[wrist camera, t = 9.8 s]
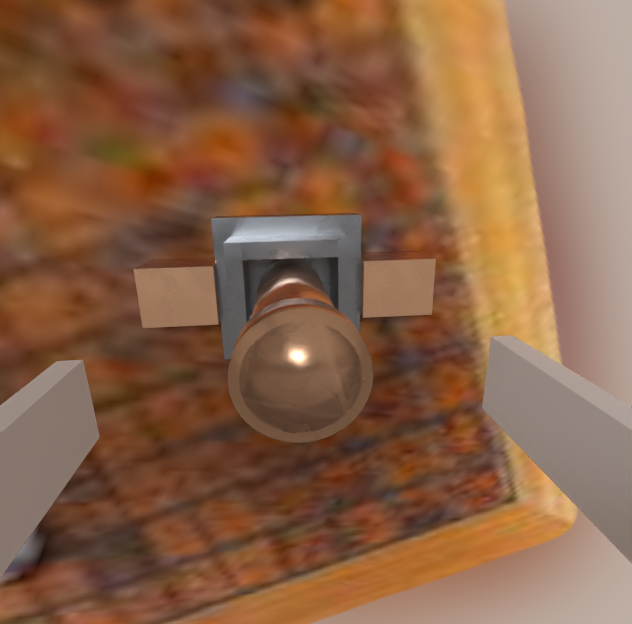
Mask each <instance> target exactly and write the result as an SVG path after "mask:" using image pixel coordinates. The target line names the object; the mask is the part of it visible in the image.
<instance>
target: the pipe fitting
mask: <svg viewBox="0 0 632 624" xmlns="http://www.w3.org/2000/svg"><path fill="white" fill-rule="evenodd" d="M372 384H373V365H372V360H371V356H370V353H369V350H368V349H367V347H366V345H365V343H364V341H363V339H362V338H361V336H360V334H359V332H358V331H357V329H356V327H355V326H354V325H353V323H352V322H351V321H350V320H349V318H348V317H347V316H346V315H345V314H343V313H342V312H341V311H340V310H338V309H336V308H335V307H334V306H333V304H332V302H331V300H330V298H329V296H328V294H327V292H326V290H325V288H324V286H323V284H322V282H321V280H320V278H319V276H318V274H317V272H316V271H315V270H314V269H313V267H311V266H310V265H309V264H307V263H306V262H304V261H302V260H298V259H291V258H289V259H282V260H279V261H277V262H275V263H273V264H272V265H270V266H269V267H268V268H267V269H266V270H265V272H264V273H263V275H262V277H261V279H260V283H259V287H258V292H257V296H256V301H255V305H254V309H253V314H252V318H250V319H249V321H248V322H247V323H246V324H245V325H244V327H243V328H242V330H241V332H240V333H239V335H238V338H237V340H236V343H235V346H234V350H233V353H232V356H231V360H230V363H229V368H228V389H229V394H230V397H231V400H232V402H233V405H234V407H235V409H236V410H237V412H238V413H239V415H240V416H241V417H242V418H243V419H244V421H245V422H246V423H247V424H249V425H250V426H251V427H252V428H253V429H255V430H256V431H258V432H259V433H261V434H263V435H265V436H267V437H270V438H273V439H276V440H280V441H284V442H293V443H304V442H312V441H316V440H320V439H323V438H326V437H329V436H331V435H333V434H335V433H337V432H339V431H340V430H342V429H343V428H345V427H346V426H347V425H349V424H350V423H351V422H352V421H353V420H354V419H355V418H356V417H357V416H358V415H359V413H360V412H361V410H362V409H363V408H364V406H365V404H366V402H367V400H368V398H369V395H370V392H371V388H372Z"/></svg>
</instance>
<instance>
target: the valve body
mask: <svg viewBox="0 0 632 624" xmlns="http://www.w3.org/2000/svg"><path fill="white" fill-rule="evenodd" d="M361 218H362V215H360V214H355V213H337V214H294V215H250V216H217V217H214V218H211V222H212V233H213V244H214V255H215V258H185V259H154V260H151V261H149V262H147V263H145V264H143V265H141V266H139V267H137V268H135V269H134V275H135V281H136V288H137V294H138V301H139V307H140V314H141V320H142V327H143V328H155V327H177V326H198V325H219V323H220V320H221V330H222V340H223V351H224V359H231V356H232V353H233V350H234V346H235V343H236V340H237V338H238V335H239V333H240V332H241V330H242V328H243V327H244V325H245V324H246V323H247V322H248V321H249V319H250V318H252V314H253V309H254V305H255V301H256V296H257V292H258V287H259V283H260V279H261V277H262V275H263V273H264V272H265V270H266V269H267V268H268V267H269V266H270V265H272V264H273V263H275V262H277V261H279V260H282V259H289V258H291V259H298V260H302V261H304V262H306V263H307V264H309V265H310V266H311V267H313V269H314V270H315V271H316V272H317V274H318V276H319V278H320V280H321V282H322V284H323V286H324V288H325V290H326V292H327V294H328V296H329V298H330V300H331V302H332V304H333V306H334V307H335V308H336V309H338V310H340V311H341V312H342V313H343V314H345V315H346V316H347V317H348V318H349V320H350V321H351V322H352V323H353V325H354V326H355V327H356V329H357V331H358V332H359V334H360V314H361V316H362V317H363V318H369V317H390V316H412V315H432V305H433V291H434V276H435V262H436V259H435V258H432V257H430V256H427V255H425V254H422V253H419V252H417V251H404V252H373V253H361Z"/></svg>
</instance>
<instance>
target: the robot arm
mask: <svg viewBox="0 0 632 624" xmlns="http://www.w3.org/2000/svg"><path fill="white" fill-rule="evenodd" d="M482 409H483V410H484V411H485V412H486V413H487V414H488V415H489V416H490V417H491V418H492V419H493V420H494V421H495V422H496V423H497V424H498V425H499V426H500V427H501V428H502V429H503V430H504V432H505V433H506V434H507V435H508V436H509V437H510V438H511V439H512V440H513V441H514V442H515V443H516V444H517V445H518V446H519V447H520V448H521V449H522V450H523V451H524V452H525V453H526V454H527V455H528V456H529V457H530V458H531V459H532V461H533V462H534V463H535V464H536V465H537V466H538V467H539V468H540V469H541V470H542V471H543V472H544V473H545V474H546V475H547V476H548V477H549V478H550V479H551V480H552V481H553V482H554V483H555V484H556V485H557V486H558V487H559V488H560V490H561V491H562V492H563V493H564V494H565V495H566V496H567V497H568V498H569V499H570V500H571V501H572V502H573V503H574V504H575V505H576V506H577V507H578V508H579V509H580V510H581V511H582V512H583V513H584V514H585V515H586V516H587V517H588V519H589V520H590V521H591V522H592V523H593V524H594V525H595V526H596V527H597V528H598V529H599V530H600V531H601V532H602V533H603V534H604V535H605V536H606V537H607V538H608V539H609V540H610V541H611V542H612V543H613V544H614V545H615V546H616V547H617V549H618V550H620V552H621V553H622V554H623V555H624V556H625V557H626V558H627V559H628V560H629V561H630V562H631V563H632V407H631V406H629V405H628V404H626V403H624V402H623V401H621V400H619V399H618V398H616V397H614V396H613V395H611V394H609V393H608V392H606V391H604V390H603V389H601V388H599V387H598V386H596V385H594V384H593V383H591V382H589V381H588V380H586V379H584V378H583V377H581V376H579V375H578V374H576V373H574V372H573V371H571V370H569V369H568V368H566V367H564V366H563V365H561V364H559V363H558V362H556V361H554V360H553V359H551V358H549V357H548V356H546V355H544V354H543V353H541V352H539V351H538V350H536V349H534V348H533V347H531V346H529V345H528V344H526V343H524V342H523V341H521V340H519V339H518V338H516V337H514V336H513V335H511V336H493V337H491V341H490V349H489V357H488V365H487V373H486V381H485V389H484V396H483V404H482ZM99 437H100V436H99V431H98V426H97V422H96V417H95V413H94V408H93V403H92V399H91V394H90V389H89V385H88V380H87V375H86V371H85V366H84V361H83V360H70V361H56V362H55V363H54V364H52V365H51V366H50V367H49V368H47V369H46V370H45V371H44V372H42V373H41V374H40V375H38V376H37V377H36V378H35V379H33V380H32V381H31V382H30V383H28V384H27V385H26V386H24V387H23V388H22V389H21V390H19V391H18V392H17V393H16V394H14V395H13V396H12V397H10V398H9V399H8V400H7V401H5V402H4V403H3V404H2V405H0V578H1V576H2V575H3V574H4V572H5V571H6V569H7V568H8V567H9V565H10V564H11V562H12V561H13V559H14V558H15V557H16V555H17V554H18V552H19V551H20V549H21V548H22V547H23V545H24V544H25V542H26V541H27V540H28V538H29V537H30V535H31V534H32V532H33V531H34V530H35V528H36V527H37V525H38V524H39V523H40V521H41V520H42V518H43V517H44V515H45V514H46V513H47V511H48V510H49V508H50V507H51V506H52V504H53V503H54V501H55V500H56V498H57V497H58V496H59V494H60V493H61V491H62V490H63V488H64V487H65V486H66V484H67V483H68V481H69V480H70V479H71V477H72V476H73V474H74V473H75V471H76V470H77V469H78V467H79V466H80V464H81V463H82V462H83V460H84V459H85V457H86V456H87V454H88V453H89V452H90V450H91V449H92V447H93V446H94V444H95V443H96V442H97V440H98V439H99Z"/></svg>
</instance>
